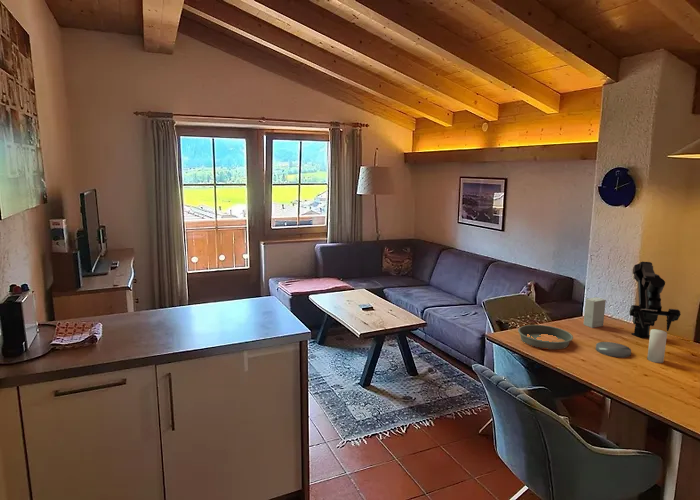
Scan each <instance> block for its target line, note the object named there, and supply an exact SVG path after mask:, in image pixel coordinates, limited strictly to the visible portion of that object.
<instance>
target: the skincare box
mask: <svg viewBox="0 0 700 500" xmlns="http://www.w3.org/2000/svg"><path fill="white" fill-rule="evenodd" d="M606 303H607V300H606V299H605V298H604V299H603V298H601V297H599V296H596V297H590V298H585V303H584V304H585V305H584V315H583V326H586V327H589V328H592V329H594V328H598V327H599V328H600V327H603V326H604V320H605V311H606Z"/></svg>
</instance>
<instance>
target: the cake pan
mask: <svg viewBox="0 0 700 500" xmlns="http://www.w3.org/2000/svg"><path fill="white" fill-rule="evenodd" d="M517 331H518V333H519V335H520V339H521V341H522V342H523V343H524V342H525V343H524V344H526V343H527V344H526V345H528V344H529V345H528V346H531V345H532V346H531V347H534V346H535V347H534V348H538V347H540V348H539V349H543V348H548V349H547V350H562V349H566V348H567V347H568V346H569V345H570V342H572V341H573V339H574V336H573V335H572V334H571V333H570V332H569V331H567V330H565V329H562V328H559V327H555V326H550V325H544V324H527V325H523V326H520V327H518V329H517ZM527 334H529V335H530V337H527ZM541 334H548V335H553V336H556V337H557V338H558V339H557V340H563V341H552V342H549V341H542V340H537V339H536V338H537V337H541V336H539V335H541ZM531 336H532V337H533V338H534V339H533V338H531Z"/></svg>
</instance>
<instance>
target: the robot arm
mask: <svg viewBox="0 0 700 500" xmlns="http://www.w3.org/2000/svg"><path fill="white" fill-rule="evenodd" d="M632 275H633V278H634V280H635V281H636V282H637V293H638V305H637V304H632V305H631V306H630V309H629V312H628V313H629V316H632V323H633V325H634V332H632V333H631V335H633V336H635V337H638V338H642V339H646V338H648V339H649V338H650V330H651V329H650V328H651V327H654V326H655V324H656V322H657V321H658V317H659V316H664V317H666V332H669V330H670V328H671V324H672V322H673V323H674V322H675V321H678V320H679V318H680V316H681V310H679V309H677V308H669V309H668V311H665V310H664V311H663V310H662V308H663V307H662V302H661V301H662V298H661V293H662V292H663V290H664V288H665V286H666V281H665V280H664V279H663V278H661V276H660V275H659V274H657V273H656V272H655V270H654V265H653V262H651V261H643V260H642V261H640V262H639V263H636V264H635V265H634V266H633V267H632Z"/></svg>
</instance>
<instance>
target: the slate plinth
mask: <svg viewBox="0 0 700 500" xmlns="http://www.w3.org/2000/svg"><path fill="white" fill-rule="evenodd" d="M595 351H596V352H598V353H599V354H601V355H604V356H607V357H611V358H612V357H613V358H623V359H624V358H629V357H630V356H631V354H632V349H631V347H629V346H627V345H624V344H621V343H617V342H612V341H599V342H596V343H595Z"/></svg>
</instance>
